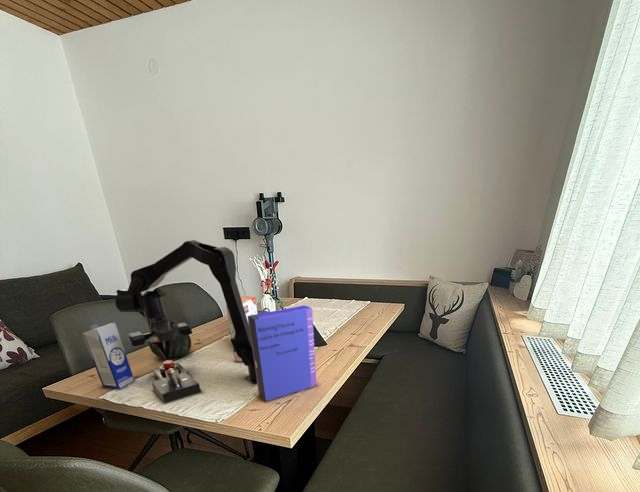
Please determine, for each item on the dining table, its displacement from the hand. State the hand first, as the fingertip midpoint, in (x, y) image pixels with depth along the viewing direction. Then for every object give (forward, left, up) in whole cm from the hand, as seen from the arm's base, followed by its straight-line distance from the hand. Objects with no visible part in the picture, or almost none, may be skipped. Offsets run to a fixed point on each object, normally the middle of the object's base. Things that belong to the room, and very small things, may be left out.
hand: (167, 359), depth 119 cm
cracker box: (0, -29, -7) cm, 30 cm away
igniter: (0, 0, -3) cm, 3 cm away
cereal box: (-36, -24, -7) cm, 44 cm away
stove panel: (-13, +3, -6) cm, 15 cm away
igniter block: (0, 0, -6) cm, 6 cm away
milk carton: (+6, +16, -7) cm, 18 cm away
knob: (-13, +3, -3) cm, 14 cm away
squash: (+21, -7, -7) cm, 23 cm away
